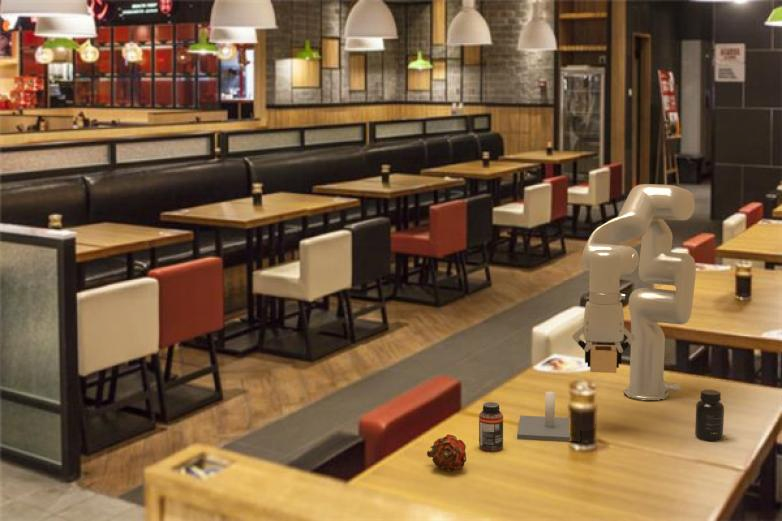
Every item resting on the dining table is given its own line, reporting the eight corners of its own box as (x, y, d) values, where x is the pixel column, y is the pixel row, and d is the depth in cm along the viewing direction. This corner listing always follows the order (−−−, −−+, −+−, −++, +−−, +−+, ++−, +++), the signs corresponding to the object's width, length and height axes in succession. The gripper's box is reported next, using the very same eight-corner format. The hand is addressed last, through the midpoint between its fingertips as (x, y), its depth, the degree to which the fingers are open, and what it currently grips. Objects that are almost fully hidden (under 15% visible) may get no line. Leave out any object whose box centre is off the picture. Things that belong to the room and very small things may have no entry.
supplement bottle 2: (690, 433, 259) (692, 388, 258) (716, 432, 260) (718, 387, 258) (700, 442, 253) (703, 396, 251) (727, 441, 253) (729, 395, 251)
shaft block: (580, 422, 269) (581, 385, 267) (581, 442, 253) (582, 403, 252) (520, 419, 271) (520, 383, 270) (517, 438, 256) (517, 400, 254)
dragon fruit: (452, 484, 230) (439, 473, 241) (481, 460, 231) (465, 450, 243) (430, 456, 228) (417, 446, 240) (458, 432, 230) (444, 423, 242)
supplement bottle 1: (486, 442, 253) (486, 399, 252) (507, 447, 250) (507, 403, 248) (474, 449, 248) (474, 405, 247) (495, 454, 245) (496, 409, 243)
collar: (615, 365, 263) (615, 345, 262) (616, 372, 256) (616, 352, 255) (589, 365, 264) (590, 344, 263) (590, 372, 257) (590, 351, 256)
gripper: (638, 295, 259) (636, 363, 262) (569, 294, 262) (568, 361, 265) (640, 302, 252) (638, 371, 255) (569, 300, 255) (568, 369, 258)
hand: (603, 365), depth 260 cm, fingers closed on collar, 6 cm apart
